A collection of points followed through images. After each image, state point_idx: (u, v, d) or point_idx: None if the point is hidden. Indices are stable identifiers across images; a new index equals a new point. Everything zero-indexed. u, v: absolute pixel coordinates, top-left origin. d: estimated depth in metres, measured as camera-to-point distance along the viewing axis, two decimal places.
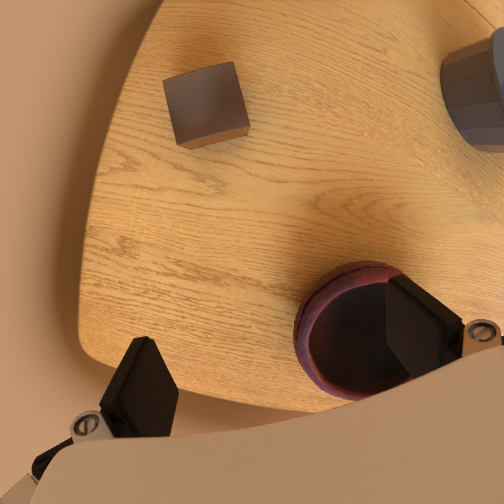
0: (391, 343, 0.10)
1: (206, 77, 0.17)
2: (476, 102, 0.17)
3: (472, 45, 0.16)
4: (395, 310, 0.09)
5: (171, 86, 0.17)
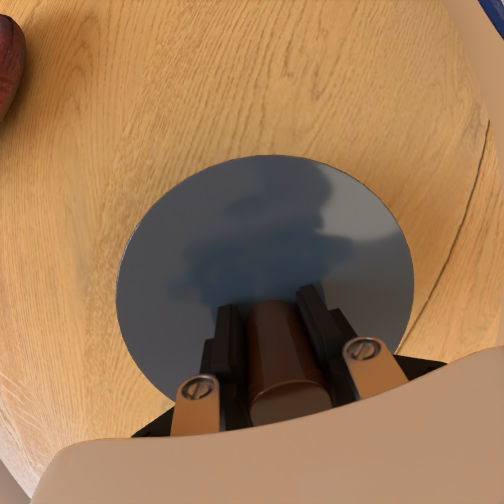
0: None
1: None
2: None
3: None
4: (302, 318, 0.11)
5: None
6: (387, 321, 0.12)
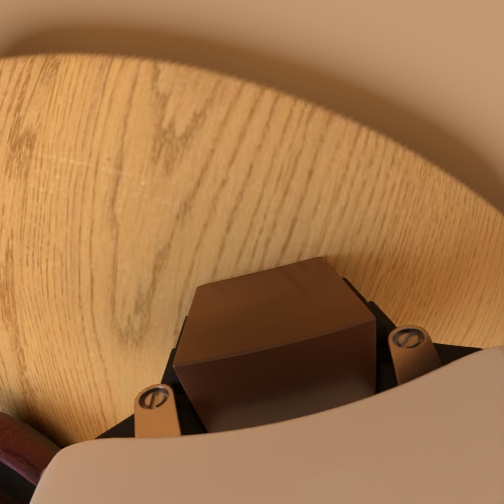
0: None
1: None
2: None
3: None
4: None
5: (351, 344, 0.06)
6: None
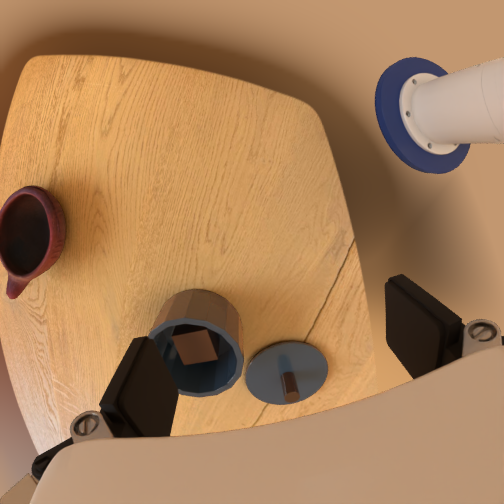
0: (391, 343, 0.10)
1: (208, 349, 0.37)
2: (171, 308, 0.35)
3: (223, 314, 0.36)
4: (395, 310, 0.09)
5: (203, 334, 0.36)
6: (319, 375, 0.44)
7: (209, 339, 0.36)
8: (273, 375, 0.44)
